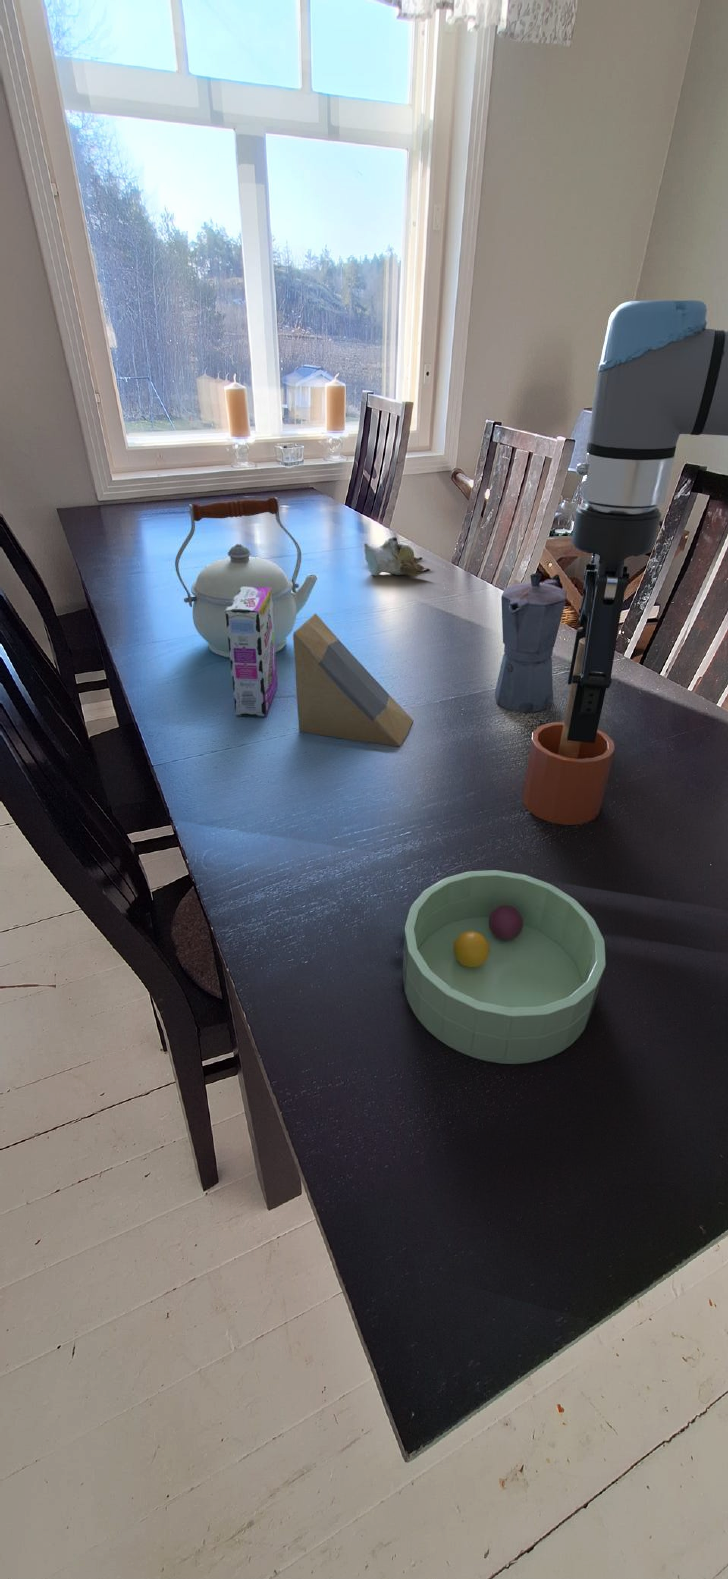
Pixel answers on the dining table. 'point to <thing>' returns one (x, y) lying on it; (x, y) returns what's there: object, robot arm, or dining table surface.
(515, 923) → the bead
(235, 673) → the candy bar box
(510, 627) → the moka pot
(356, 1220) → the dining table surface
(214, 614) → the kettle
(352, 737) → the sandwich container
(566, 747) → the wooden stirring stick
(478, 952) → the bead
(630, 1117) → the dining table surface
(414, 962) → the bowl
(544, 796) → the crock
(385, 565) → the ceramic sculpture
